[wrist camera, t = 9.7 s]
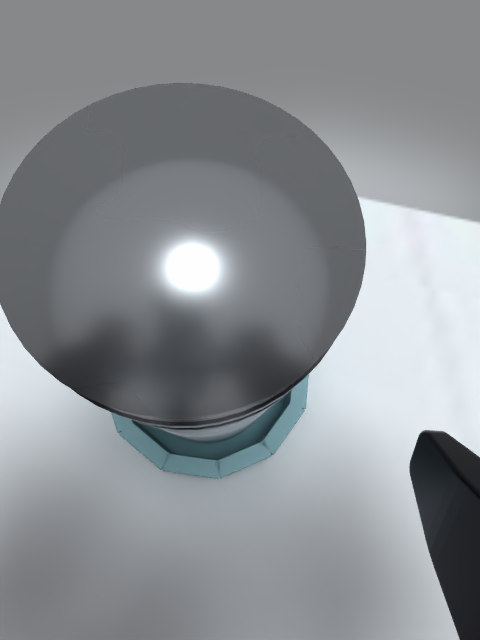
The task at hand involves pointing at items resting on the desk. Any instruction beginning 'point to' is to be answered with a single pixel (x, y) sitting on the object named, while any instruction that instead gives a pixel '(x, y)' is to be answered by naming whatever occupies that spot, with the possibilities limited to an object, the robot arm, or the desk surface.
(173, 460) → the ring collar
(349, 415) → the desk surface
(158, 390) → the piston
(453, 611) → the robot arm
